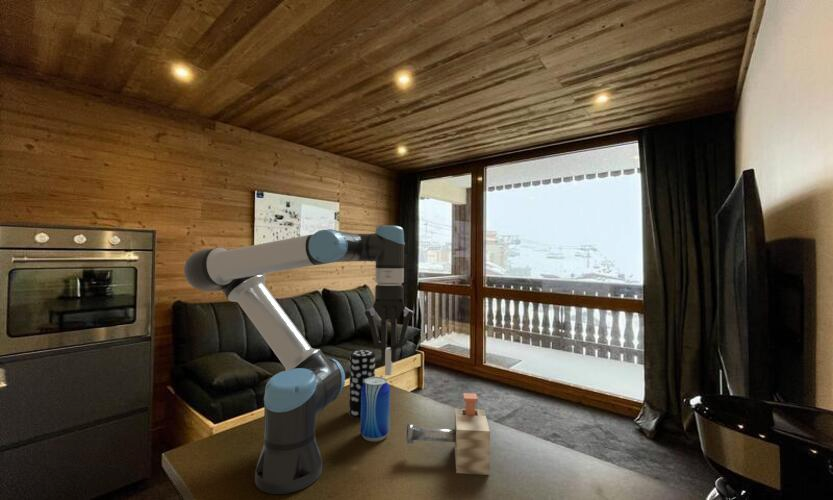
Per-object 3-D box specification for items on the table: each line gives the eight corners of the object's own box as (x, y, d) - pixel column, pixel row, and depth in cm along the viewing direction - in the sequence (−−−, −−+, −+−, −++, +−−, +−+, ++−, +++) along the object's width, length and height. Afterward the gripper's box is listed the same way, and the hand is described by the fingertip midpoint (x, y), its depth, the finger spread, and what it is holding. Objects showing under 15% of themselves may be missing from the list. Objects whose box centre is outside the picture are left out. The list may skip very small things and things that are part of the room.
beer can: (384, 444, 100) (385, 386, 100) (356, 441, 101) (357, 384, 102) (392, 430, 108) (393, 376, 108) (366, 427, 110) (366, 374, 110)
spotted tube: (347, 409, 122) (348, 350, 122) (371, 406, 124) (372, 348, 125) (350, 420, 114) (351, 357, 114) (376, 417, 116) (377, 355, 117)
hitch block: (456, 473, 87) (456, 429, 87) (454, 446, 99) (454, 408, 99) (489, 474, 87) (489, 431, 87) (483, 448, 99) (484, 409, 99)
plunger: (463, 427, 95) (463, 398, 95) (462, 421, 99) (463, 393, 99) (477, 428, 95) (477, 398, 95) (475, 422, 98) (476, 393, 99)
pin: (406, 446, 92) (406, 428, 92) (408, 437, 96) (408, 420, 96) (467, 450, 91) (467, 431, 91) (466, 440, 95) (466, 423, 95)
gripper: (362, 285, 92) (361, 377, 91) (412, 285, 91) (412, 379, 90) (368, 282, 99) (367, 368, 99) (415, 283, 98) (414, 369, 98)
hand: (388, 373), depth 95 cm, fingers closed
